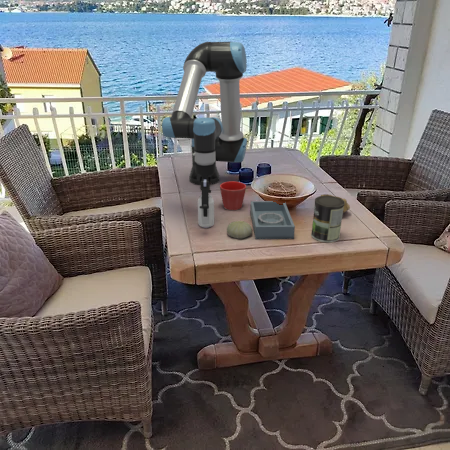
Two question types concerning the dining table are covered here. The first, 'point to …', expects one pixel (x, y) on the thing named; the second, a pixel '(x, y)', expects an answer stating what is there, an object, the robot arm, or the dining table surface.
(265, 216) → the inlet ring
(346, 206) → the oil lamp
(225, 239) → the dining table surface
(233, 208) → the flower pot
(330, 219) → the coffee can
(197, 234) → the dining table surface
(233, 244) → the dining table surface
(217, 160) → the robot arm
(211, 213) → the beverage can
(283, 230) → the walled box
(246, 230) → the sea urchin shell
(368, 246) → the dining table surface
